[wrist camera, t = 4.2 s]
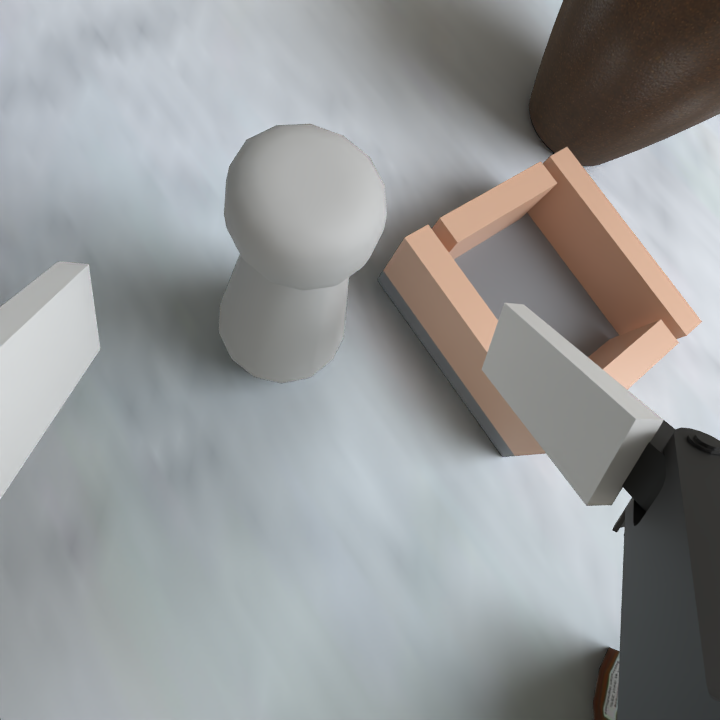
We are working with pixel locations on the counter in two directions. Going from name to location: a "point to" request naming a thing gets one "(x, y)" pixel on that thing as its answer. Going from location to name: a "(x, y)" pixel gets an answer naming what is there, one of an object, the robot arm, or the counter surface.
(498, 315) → the socket board
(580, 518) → the counter surface
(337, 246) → the salt shaker
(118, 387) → the counter surface
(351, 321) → the counter surface
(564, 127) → the plant pot
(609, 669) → the food container
